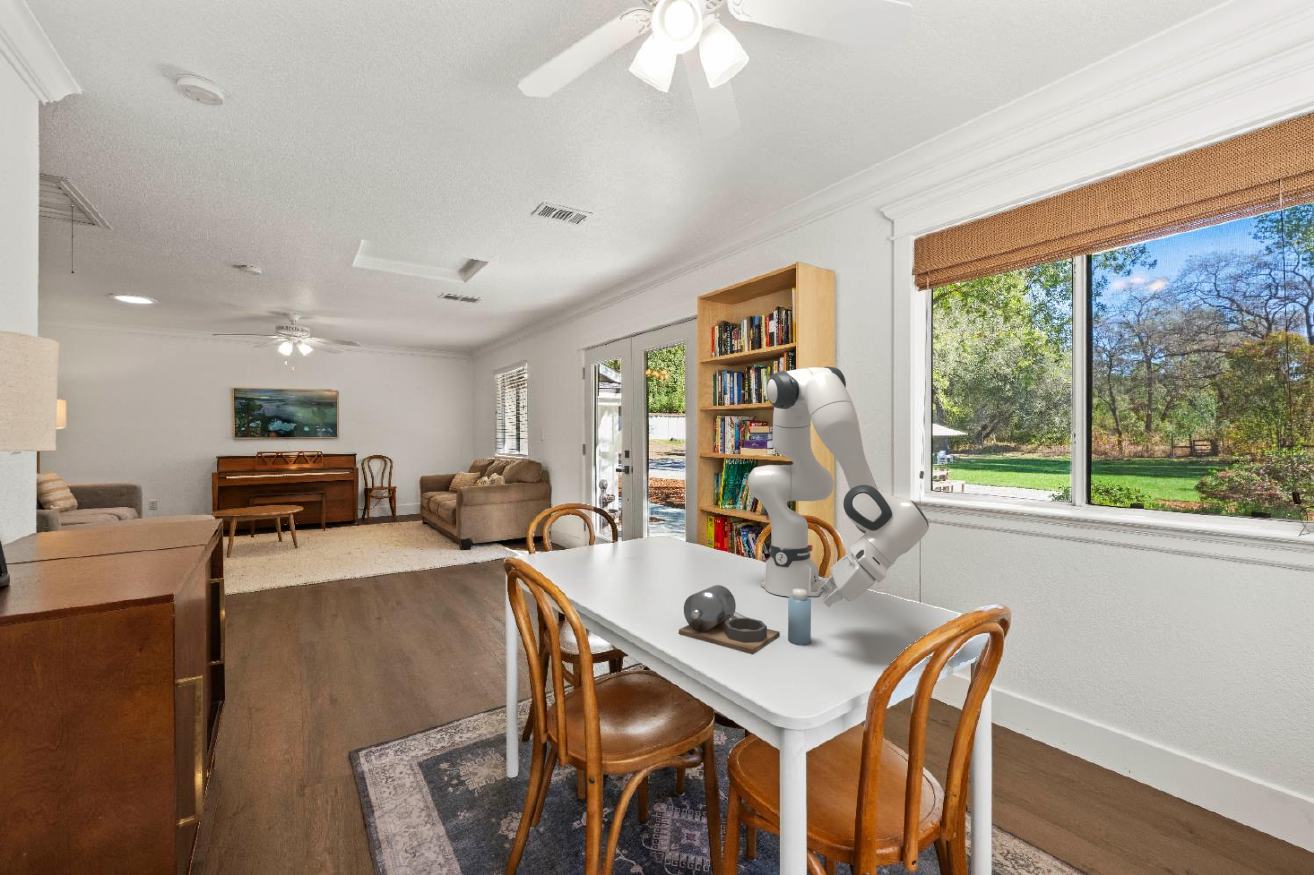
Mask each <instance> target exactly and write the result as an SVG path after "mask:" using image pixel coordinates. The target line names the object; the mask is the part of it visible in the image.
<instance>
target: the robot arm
mask: <svg viewBox="0 0 1314 875" xmlns="http://www.w3.org/2000/svg"><path fill="white" fill-rule="evenodd" d="M766 395H767V399H768V402H769V403H770V404H771V405H772V407H773V414H772V446H773V449H774V450H775V452H777V453H778V454H779V455H780V456H783V457H785V458H787V459H788V460H790V461H791V462H792V464H789V465H785V464H784V465H782V464H781V465H779V464H778V465H777V464H776V465H775V464H767V465H761V466H756V467H754V468H752V470H751V471H750V473H749V475H748V477H747V486H748V487H747V488H748V490H749V493H750V494H751V495H752V497H754V498H755V499H757V501H759V503H761V504H762V505H763V507H764V509H765V510H766V512H767V515H768V517H769V521H770V522H769V523H770V531H771V532H770V533H771V535H770V537H771V540H770V541H771V542H770V544H769V556H770V557H769V558H768V559H767V560H766V561H765V571H764V572H765V573H764V580H763V581H761V582H760V586H761V587H763V588H764V589H765V591H767V592H768V593H769V594H773V595H777V596H780V597H781V596H783V597H790V596H793V589H796V588H800V589H805V590H807V597H819V596H820V595H821V593H822V594H823V595H824V596H825V595H826V596H825V597H824V598H823V604H824V605H825V606H826V607H828V608H830V607H831V606H832V605H833V604H835V603H837V602H838V601H841V600H842V599H845V600H846V601H847V602H851V601H853V600H856V599H857V598H858V597H859V596H861V595H863V594H864V593H865V592H866V591H867V590H869V589H870V588H871V587H872V586H874V584H875V583H876V582H877V583H881V582H882V581H883V580H884V579H886V577H887V572H888V570H889V569H890V567H893V565H894V564H895V562H896V561H897V560H898V558H900V556H902V555H905V554H906V553H908V552H909V551H910V550H911V549H912V548H913V547H915V546H916V545H917V544H918V543H919V542H920V541H921V540H922V539H923V538H924V537H925V535H926V534H927V533H928V530H930V529H929V528H930V525H929V521H928V518H927V517H926V514H924V512H923V511H922V510H921V508H920V507H919V506H918V505H917V504H916V502H914V501H913V500H911V499H907V498H906V499H904V498H901V497H897V496H893V495H890V494H888V493H886V492H883V491H882V490H880V489H878V487H877V484H876V482H875V480H874V477H873V475H872V472H871V470H870V467H869V464H868V462H867V458H866V454H865V452H864V451H865V450H864V446H863V439H862V434H861V433H862V432H861V428H860V423H859V418H858V415H857V411H856V408H855V405H854V403H853V400H852V398H851V395H850V394H849V392H848V390H847V382H846V377H845V375H844V374H843V372H842V371H841V369H839V368H837V367H832V366H824V367H819V366H815V367H814V366H813V367H812V366H811V367H802V368H797V369H792V370H786V371H785V370H782V371H778V372H775V373H773V374H771V375H770V377H769V379H768V380H767V383H766ZM811 423H812V424H811ZM811 425H812V427H813V428H814V430H815V432H816V434H817V436H818V437H819V439H820V441H821V442H822V444H823V445H824V446H825V447H826V449H827V450H828V451H829V452H830V453H831V454H832V455H833V457H834V458H835V460H836V461H837V462H838V463H839V465H840V467H841V469H842V472H843V474H844V477H845V480H846V482H847V485H848V487H849V490H848V491H847V493H845V496H844V498H843V502H842V504H843V510H844V513H845V515H846V516H847V518H848V519H849V520H850V521H851V522H852V523H853V524H854V526H855V527H856V528H857V530H859V531H860V532H861V533H862V534H863V535H862V536H861V537H860V538H859V539H858V540H856V541H855V542H854V543H853V544H852V545H851V546H850V547H848V550H849V552H848V553H846V554H845V555H844V556H842V557H841V558H840V559H839V560H837V561H836V562H835V563H833V565H832V566H831V567H830V569H829V570H830V571H829V572H830V573H831V574H830V575H829V577H828V578H827V579H826V581H824V580H821V579H819V567H818V566H817V564H816V563H815V561H813V560H812V559H811V552H813V548H814V547H813V544H808V542H809V524H808V521H807V519H806V518H805V516H803V515H802V514H800V513H799V512H797V511H795V510H792V509H791V508H789V506H788V502H790V501H791V502H817V501H824V500H827V499H828V498H830V496H831V494H832V493H833V490H834V486H835V484H834V483H835V482H834V477H833V475H832V473H831V472H830V471H829V469H827V468H826V467H825V466H823V465H822V464H821V463H820V462H819V461H818V460H817V458H816V457H815V456H816V455H814V452H813V449H812V443H811V440H812V438H811ZM833 587H836V588H835V589H834V590H833V592H832V593H830V594H828V593H829V592H831V589H833ZM819 594H820V595H819ZM827 594H828V595H827Z"/></svg>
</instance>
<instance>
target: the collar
mask: <svg viewBox="0 0 1314 875" xmlns="http://www.w3.org/2000/svg"><path fill="white" fill-rule="evenodd" d="M740 629H749V630H740ZM767 629H768V626H767V625H766V624H765V623H764V621H762V620H759V619H755V618H750V617H748V618H730V619H729V621H727V622H725V634H726V635H727V637H728V638H729V639H732V640H736V641H739V642H743V643H746V642H760V641H762V640H763V639H765V638H766V637H767Z"/></svg>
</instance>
